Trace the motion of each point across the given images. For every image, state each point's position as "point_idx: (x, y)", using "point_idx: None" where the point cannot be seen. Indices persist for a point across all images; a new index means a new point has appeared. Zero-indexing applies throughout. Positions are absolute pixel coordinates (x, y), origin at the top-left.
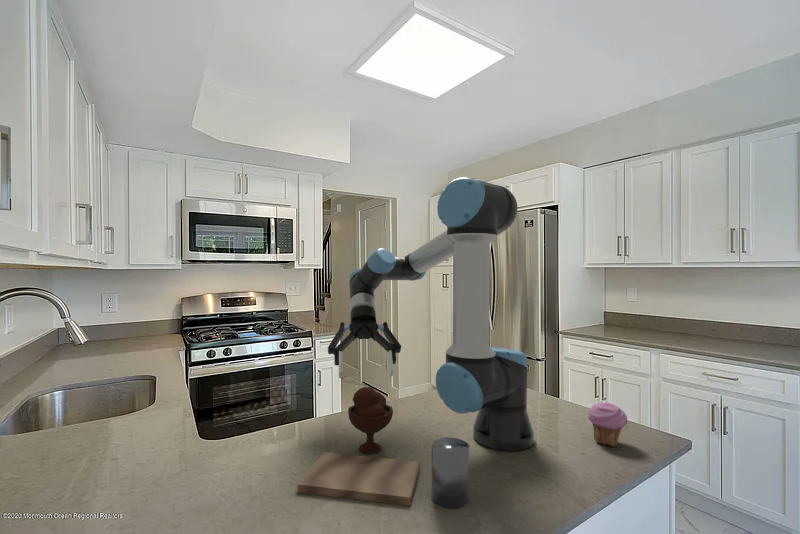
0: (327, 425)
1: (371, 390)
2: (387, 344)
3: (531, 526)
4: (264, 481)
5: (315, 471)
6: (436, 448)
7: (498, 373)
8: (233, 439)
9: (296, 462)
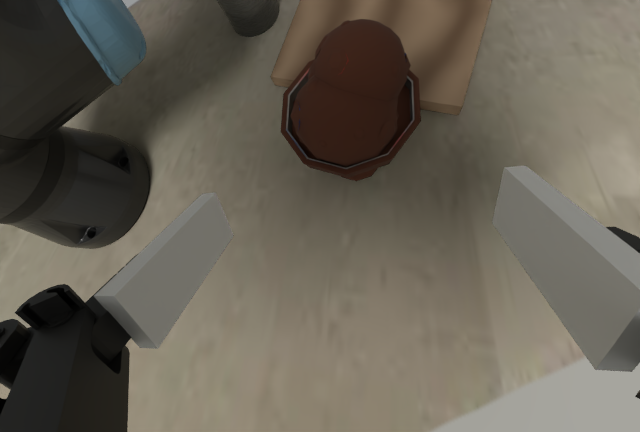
0: (478, 312)
1: (336, 31)
2: (56, 367)
3: None
4: (569, 29)
5: (467, 32)
6: None
7: None
8: None
9: (520, 100)
